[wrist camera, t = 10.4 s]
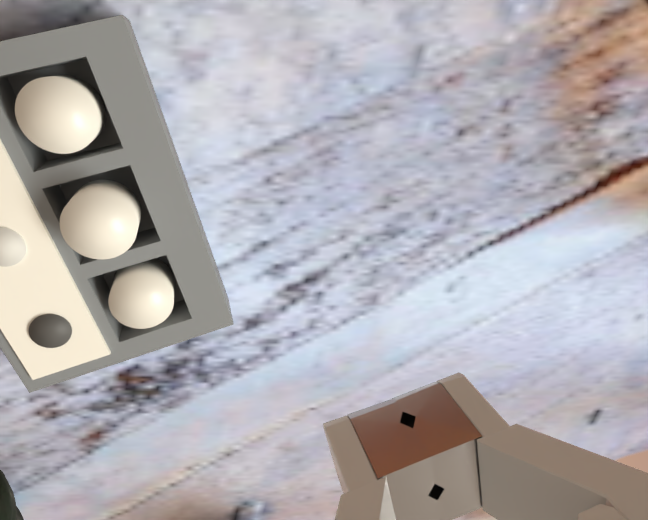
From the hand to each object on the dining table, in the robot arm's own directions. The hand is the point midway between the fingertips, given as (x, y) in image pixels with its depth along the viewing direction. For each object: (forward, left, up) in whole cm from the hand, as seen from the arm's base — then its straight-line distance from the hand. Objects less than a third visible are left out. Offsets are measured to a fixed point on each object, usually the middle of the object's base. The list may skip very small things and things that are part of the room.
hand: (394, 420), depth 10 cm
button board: (+11, 0, -27) cm, 29 cm away
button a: (+9, -6, -25) cm, 28 cm away
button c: (+9, +6, -25) cm, 28 cm away
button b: (+9, 0, -24) cm, 25 cm away
